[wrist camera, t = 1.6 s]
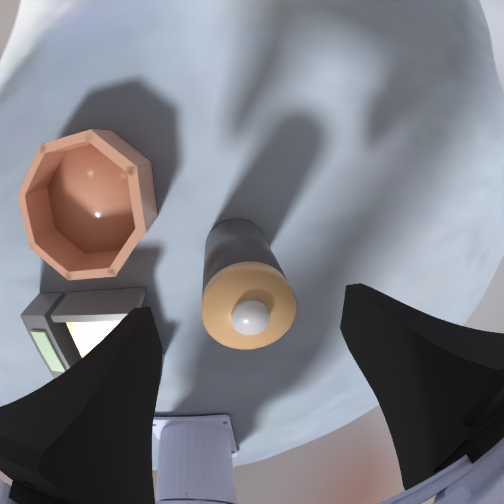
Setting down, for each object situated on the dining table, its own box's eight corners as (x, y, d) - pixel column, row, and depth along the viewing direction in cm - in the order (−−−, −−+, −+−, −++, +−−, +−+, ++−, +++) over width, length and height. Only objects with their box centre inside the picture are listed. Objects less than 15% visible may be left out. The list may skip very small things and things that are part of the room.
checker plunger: (154, 360, 17) (152, 368, 17) (90, 359, 17) (87, 367, 16) (137, 311, 16) (134, 318, 15) (69, 313, 15) (65, 320, 14)
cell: (266, 272, 17) (297, 349, 11) (208, 278, 17) (208, 360, 10) (264, 215, 16) (300, 270, 9) (202, 221, 16) (194, 281, 9)
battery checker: (164, 356, 19) (159, 387, 16) (67, 355, 18) (54, 381, 15) (144, 286, 17) (133, 315, 14) (39, 293, 16) (19, 317, 13)
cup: (164, 251, 16) (155, 273, 13) (61, 262, 15) (40, 283, 12) (148, 122, 13) (133, 118, 10) (40, 150, 12) (12, 154, 10)
